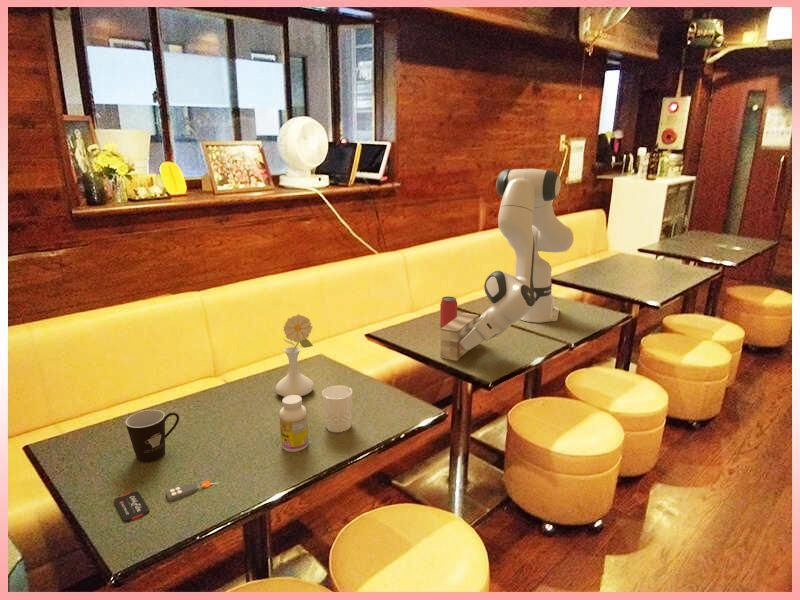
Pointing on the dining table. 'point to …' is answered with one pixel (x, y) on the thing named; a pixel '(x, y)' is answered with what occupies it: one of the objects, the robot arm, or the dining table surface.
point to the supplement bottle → (293, 424)
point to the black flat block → (131, 506)
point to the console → (456, 335)
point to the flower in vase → (295, 357)
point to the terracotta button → (460, 345)
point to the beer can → (447, 310)
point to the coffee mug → (148, 434)
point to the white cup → (337, 408)
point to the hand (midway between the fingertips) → (464, 345)
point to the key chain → (186, 490)
